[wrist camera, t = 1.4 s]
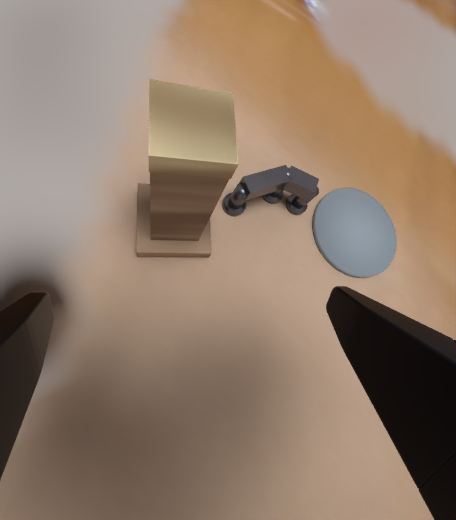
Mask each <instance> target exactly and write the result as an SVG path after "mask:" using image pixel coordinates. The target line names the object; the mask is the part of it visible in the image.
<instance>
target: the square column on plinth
mask: <svg viewBox="0 0 456 520" xmlns="http://www.w3.org/2000/svg"><path fill="white" fill-rule="evenodd" d="M237 166H238V154H237V140H236V126H235V112H234V98H233V93H231V92H225V91H219V90H213V89H207V88H201V87H195V86H189V85H183V84H177V83H171V82H165V81H159V80H153V79H150V92H149V172H150V184H140V183H138V205H137V249H136V253H137V257H209V256H210V255H211V234H210V217H211V215H212V213H213V211H214V208H215V206H216V204H217V202H218V200H219V198H220V196H221V194H222V192H223V190H224V188H225V186H226V184H227V182H228V180H229V179H231V178H232V176H233V174H234V172H235V170H236V168H237Z"/></svg>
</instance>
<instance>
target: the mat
mask: <svg viewBox="0 0 456 520" xmlns="http://www.w3.org/2000/svg"><path fill="white" fill-rule="evenodd" d="M313 234H314V238H315V241H316V244H317V246H318V248H319V250H320V252H321V253H322V255H323V256H324V258H325V259H326V260H327V261H328V262H329V263H330V264H331V265H332V266H333V267H334V268H336V269H337V270H339V271H340V272H342V273H344V274H346V275H349V276H352V277H358V278H364V277H370V276H374V275H377V274H379V273H381V272H382V271H384V270H385V269H386V268H387V267H388V266H389V265H390V263H391V262H392V260H393V258H394V255H395V252H396V233H395V229H394V225H393V223H392V220H391V218H390V216H389V215H388V213H387V212H386V210H385V209H384V207H383V206H382V205H381V204H380V203H379V202H378V201H377V200H376V199H374V198H373V197H372V196H370V195H369V194H367V193H365V192H363V191H360V190H357V189H353V188H341V189H337V190H334V191H332V192H330V193H329V194H328V195H326V196H325V197H324V198H323V199H322V200H321V201H320V202H319V204H318V205H317V207H316V209H315V212H314V216H313Z"/></svg>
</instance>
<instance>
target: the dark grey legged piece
mask: <svg viewBox="0 0 456 520" xmlns="http://www.w3.org/2000/svg"><path fill="white" fill-rule="evenodd" d="M318 180H319V179H318V178H316V177H314V176H312V175H310V174H308V173H306V172H304V171H302V170H299V169H297V168H295V167H293V166H291V167H290V168H287V166H286V165H284V166H280V167H277V168H273V169H270V170H266V171H262V172H259V173H255V174H251V175H248V176H244V177H243V178H242V179H241V181H240V183H239V184H238V185H237V187H236V188H235V190H234V192H233V193H230V194H228V195H227V196H226V197H225V198H224V200H223V209H224V210H225V212H226V213H227V214H229V215H231V216H238V215H240V214H241V213H242V212H243V211H244V209H245V207H246V203H245V201H246V200H249V199H253V198H256V197H259V196H262V197H263V198H264V200H265V201H267V202H268V203H272V204H274V203H277V202H279V201H280V200H281V199H282V197H283V190H286V191H288V192H290V193H292V194H291V195H290V196H289V197H288V198H287V200H286V207H287V209H288V210H289V211H290V212H291V213H292V214H295V215H300V214H302V213H303V212H304V211H305V210H306V209H307V203H308V202H310V201H311V200H312V199H313V198H314V197H316V196H317V195H318V193H319V189H318V187H317V184H318Z"/></svg>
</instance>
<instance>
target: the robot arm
mask: <svg viewBox="0 0 456 520" xmlns="http://www.w3.org/2000/svg"><path fill="white" fill-rule="evenodd" d="M326 310H327V313H328V315H329V318H330V320H331V323H332V325H333V327H334V330H335V332H336V335H337V337H338V339H339V342H340V344H341V346H342V348H343V350H344V352H345V354H346V356H347V358H348V360H349V362H350V364H351V365H352V367H353V369H354V371H355V373H356V375H357V377H358V378H359V380H360V382H361V384H362V386H363V388H364V390H365V391H366V393H367V395H368V397H369V399H370V401H371V403H372V404H373V406H374V408H375V410H376V412H377V414H378V415H379V417H380V419H381V421H382V423H383V425H384V427H385V428H386V430H387V432H388V434H389V436H390V438H391V440H392V441H393V443H394V445H395V447H396V449H397V451H398V453H399V454H400V456H401V458H402V460H403V462H404V464H405V466H406V467H407V469H408V471H409V473H410V475H411V477H412V478H413V480H414V482H415V484H416V486H417V488H419V492H420V494H421V496H422V497H423V499H424V501H425V503H426V505H427V507H428V509H429V510H430V512H431V514H432V516H433V518H434V520H456V340H453V339H452V338H450V337H448V336H446V335H444V334H442V333H440V332H438V331H436V330H434V329H432V328H430V327H428V326H426V325H423V324H421V323H419V322H417V321H415V320H413V319H411V318H409V317H407V316H405V315H403V314H401V313H399V312H397V311H395V310H393V309H391V308H389V307H387V306H385V305H383V304H381V303H379V302H377V301H375V300H373V299H371V298H369V297H366V296H364V295H362V294H360V293H358V292H356V291H354V290H352V289H350V288H348V287H345V286H337V287H334V288H333V290H332V292H331V294H330V297H329V299H328V302H327V305H326ZM52 325H53V311H52V306H51V302H50V297H49V294H48V293H46V292H30V293H28V294H26V295H24V296H23V297H21V298H20V299H18V300H17V301H15V302H13V303H12V304H10V305H8V306H7V307H5V308H4V309H2V310H1V311H0V479H1V477H2V474H3V471H4V469H5V466H6V464H7V461H8V458H9V456H10V453H11V450H12V448H13V445H14V443H15V440H16V437H17V435H18V432H19V429H20V427H21V424H22V422H23V419H24V416H25V414H26V411H27V408H28V406H29V403H30V401H31V398H32V395H33V393H34V390H35V387H36V385H37V382H38V379H39V376H40V374H41V370H42V366H43V362H44V358H45V354H46V350H47V346H48V342H49V338H50V334H51V329H52Z"/></svg>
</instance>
